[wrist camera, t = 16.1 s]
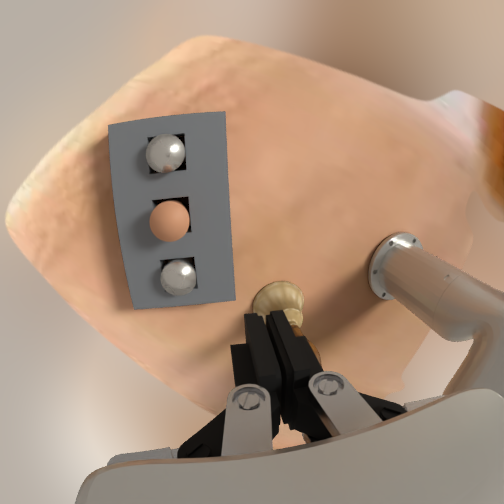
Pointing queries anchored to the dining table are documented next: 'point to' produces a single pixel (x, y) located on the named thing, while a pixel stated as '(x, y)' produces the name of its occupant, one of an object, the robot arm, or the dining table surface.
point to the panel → (172, 186)
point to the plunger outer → (165, 153)
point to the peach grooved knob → (169, 220)
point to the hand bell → (283, 305)
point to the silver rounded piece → (179, 276)
